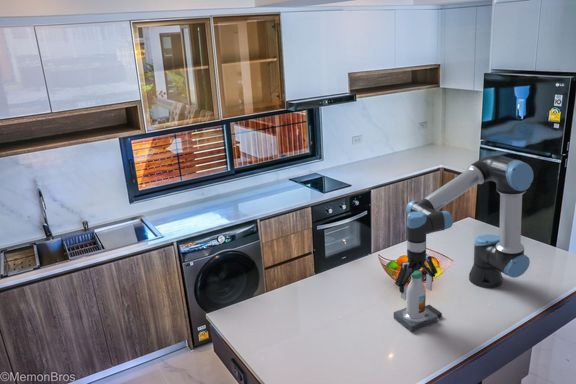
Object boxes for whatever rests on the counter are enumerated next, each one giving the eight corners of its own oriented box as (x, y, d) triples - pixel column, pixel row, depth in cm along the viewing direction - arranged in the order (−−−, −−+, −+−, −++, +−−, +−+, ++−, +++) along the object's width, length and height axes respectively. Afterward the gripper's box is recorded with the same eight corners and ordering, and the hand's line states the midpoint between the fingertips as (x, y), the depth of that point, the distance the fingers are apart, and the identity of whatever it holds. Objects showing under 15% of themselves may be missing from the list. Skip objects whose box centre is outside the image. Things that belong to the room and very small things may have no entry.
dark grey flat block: (426, 306, 217) (426, 300, 216) (445, 319, 206) (445, 313, 205) (393, 318, 210) (393, 312, 209) (411, 332, 199) (411, 326, 198)
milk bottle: (412, 320, 202) (413, 278, 195) (403, 311, 209) (403, 270, 202) (428, 316, 204) (429, 275, 197) (419, 307, 211) (420, 267, 204)
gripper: (434, 237, 204) (433, 281, 211) (385, 253, 195) (387, 298, 202) (446, 244, 198) (445, 289, 205) (397, 260, 188) (398, 307, 195)
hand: (416, 293), depth 203 cm, fingers open, 13 cm apart
